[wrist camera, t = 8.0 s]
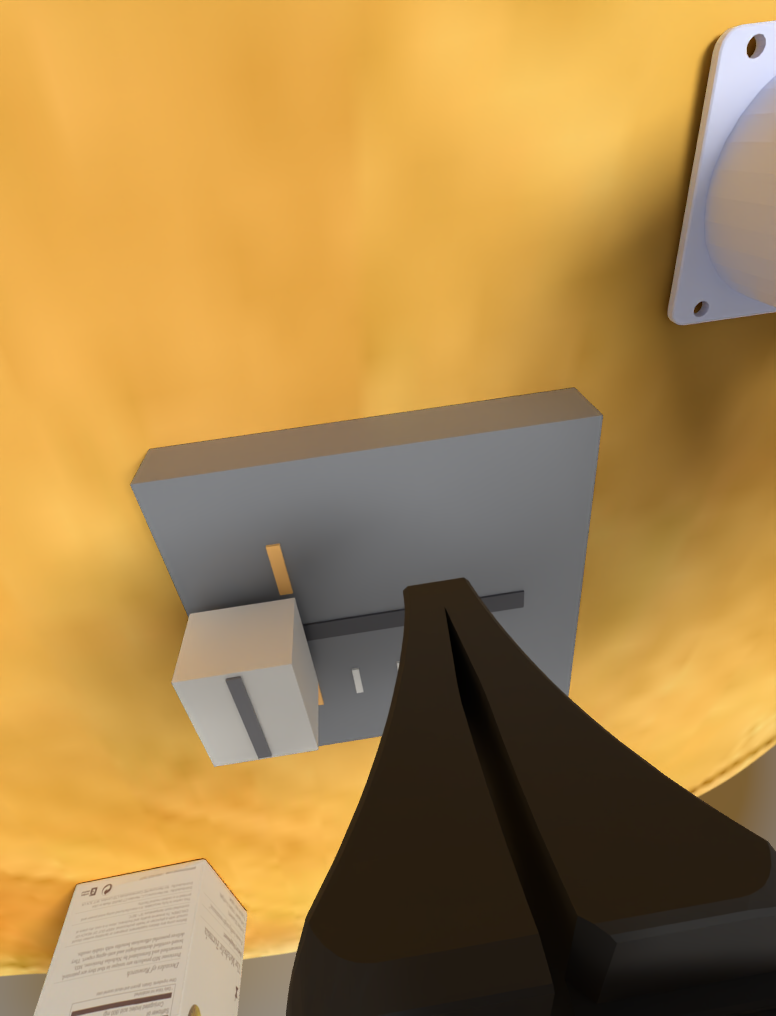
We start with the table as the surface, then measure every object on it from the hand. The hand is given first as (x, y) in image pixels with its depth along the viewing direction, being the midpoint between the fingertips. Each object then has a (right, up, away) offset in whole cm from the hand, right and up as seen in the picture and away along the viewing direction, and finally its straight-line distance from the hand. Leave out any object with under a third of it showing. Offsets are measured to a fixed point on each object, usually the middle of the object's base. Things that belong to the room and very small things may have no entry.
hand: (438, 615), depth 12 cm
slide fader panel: (-1, -1, +13) cm, 13 cm away
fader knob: (-6, -3, +11) cm, 13 cm away
